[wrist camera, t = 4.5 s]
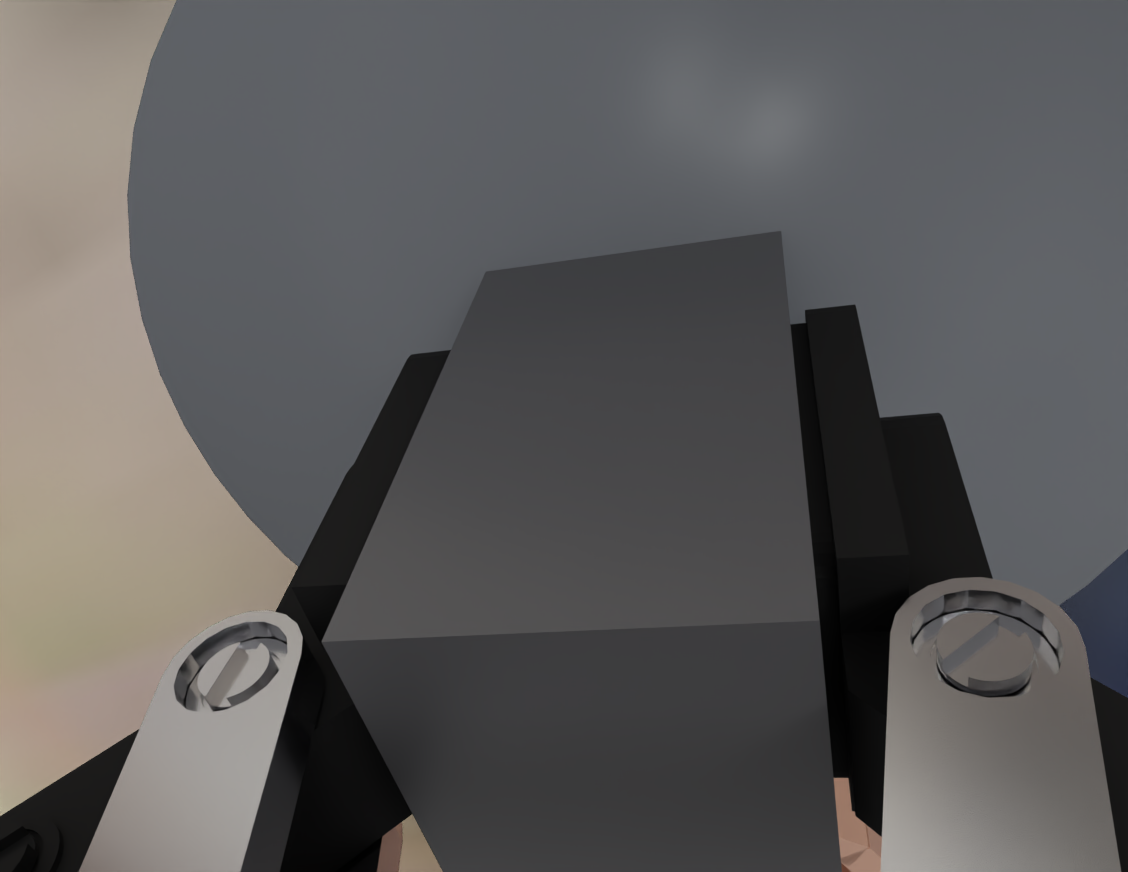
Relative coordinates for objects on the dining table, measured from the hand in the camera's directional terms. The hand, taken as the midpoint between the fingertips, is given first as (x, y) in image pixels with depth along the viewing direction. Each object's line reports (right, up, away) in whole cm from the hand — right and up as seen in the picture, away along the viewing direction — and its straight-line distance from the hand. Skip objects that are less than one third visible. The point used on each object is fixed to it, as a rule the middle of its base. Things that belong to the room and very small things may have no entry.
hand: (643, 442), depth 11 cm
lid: (0, +1, +2) cm, 2 cm away
